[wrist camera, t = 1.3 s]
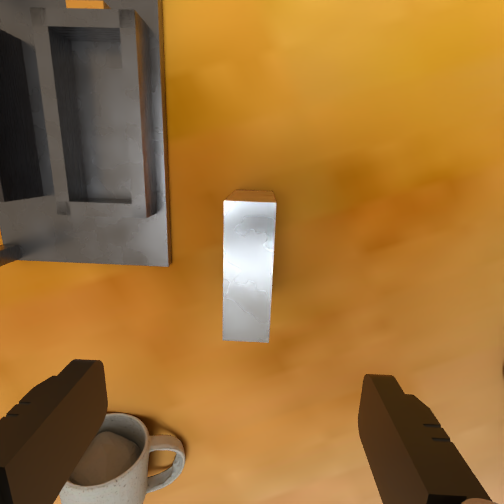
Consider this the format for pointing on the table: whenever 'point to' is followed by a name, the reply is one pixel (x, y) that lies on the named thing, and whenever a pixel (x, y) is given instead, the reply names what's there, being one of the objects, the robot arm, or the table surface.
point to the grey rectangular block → (248, 264)
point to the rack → (83, 132)
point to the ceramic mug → (120, 464)
